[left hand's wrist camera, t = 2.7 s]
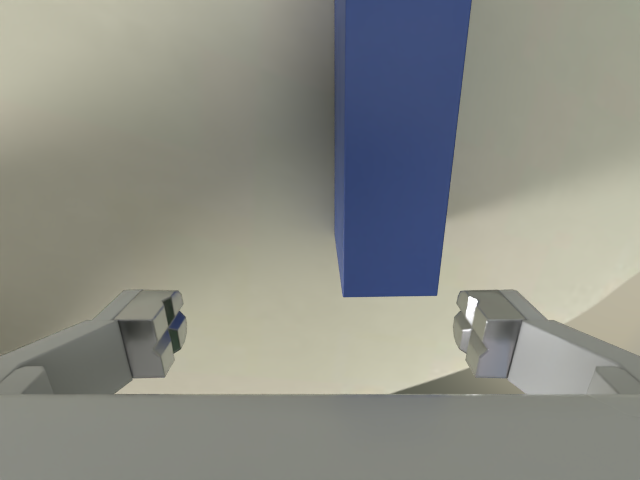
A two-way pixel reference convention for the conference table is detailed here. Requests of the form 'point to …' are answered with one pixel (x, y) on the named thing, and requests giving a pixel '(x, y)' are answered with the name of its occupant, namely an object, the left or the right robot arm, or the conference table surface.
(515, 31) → the conference table surface
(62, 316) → the conference table surface
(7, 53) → the conference table surface
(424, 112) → the box
